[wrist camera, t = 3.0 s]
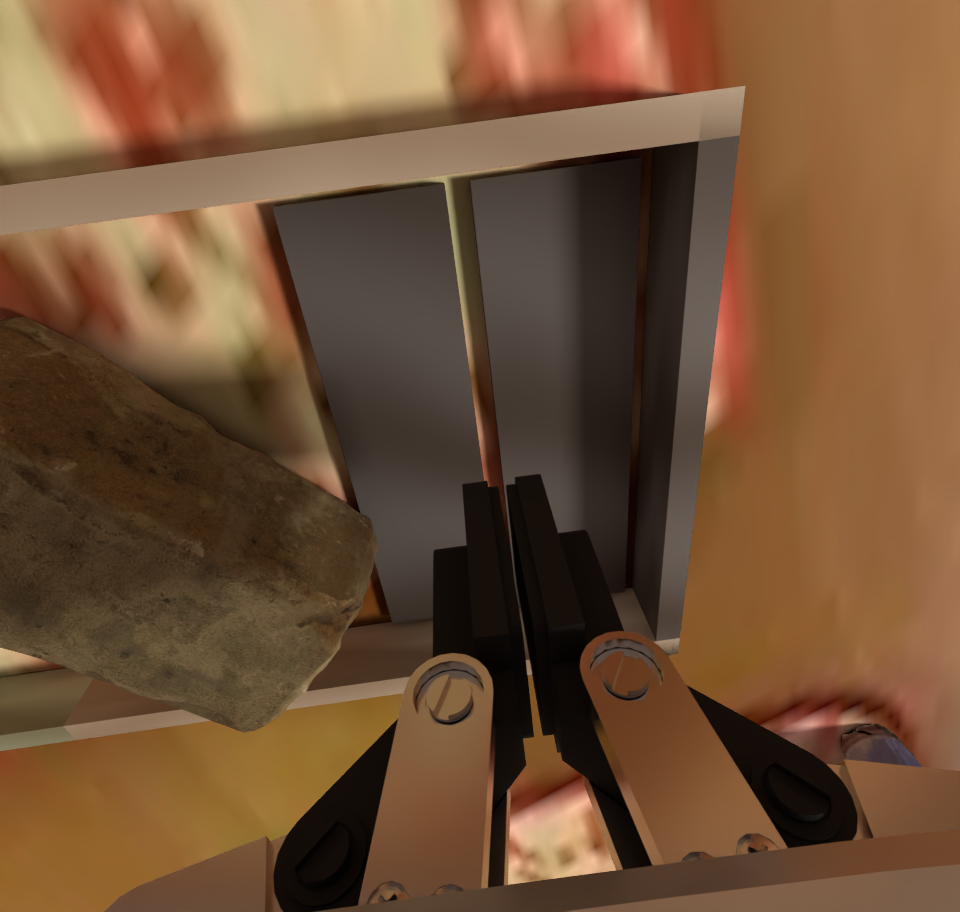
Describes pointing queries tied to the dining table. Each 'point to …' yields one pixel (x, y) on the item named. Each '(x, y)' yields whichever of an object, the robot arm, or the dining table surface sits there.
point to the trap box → (443, 356)
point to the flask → (876, 747)
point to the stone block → (162, 542)
